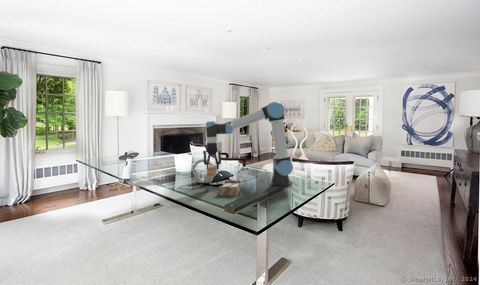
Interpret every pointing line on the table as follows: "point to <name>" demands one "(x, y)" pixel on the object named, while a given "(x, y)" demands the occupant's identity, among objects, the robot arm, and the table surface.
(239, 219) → the table surface
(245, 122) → the robot arm
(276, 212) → the table surface
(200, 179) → the headphones
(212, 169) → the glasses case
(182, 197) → the table surface
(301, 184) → the table surface
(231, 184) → the stand
